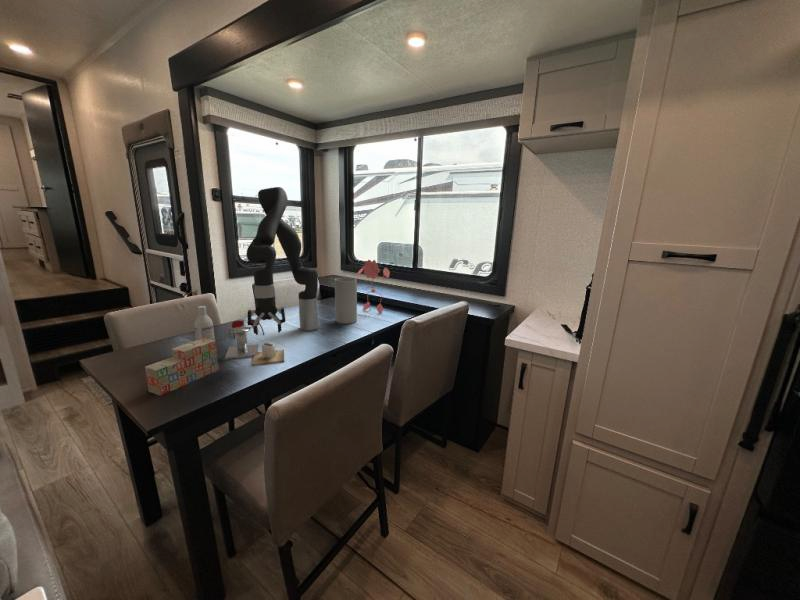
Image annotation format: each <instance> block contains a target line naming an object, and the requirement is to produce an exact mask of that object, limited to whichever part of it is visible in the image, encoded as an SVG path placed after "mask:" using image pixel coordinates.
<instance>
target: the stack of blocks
mask: <svg viewBox="0 0 800 600" xmlns="http://www.w3.org/2000/svg"><path fill="white" fill-rule="evenodd" d="M171 351H172V357H169V358H166V359H163V360H160V361H157V362H155V363H152V364H149V365H146V366H144V370H145V376H146V377H145V378H146V384H147V388H148V392H149V393H151V394H155V395H157V396H163V395H165V394H167V393H170V392H172V391H174V390H178V389H179V388H182V387H184V386H186V385H188V384H190V383H193V382H194V381H197V380H199V379H202V378H204V377H206V376H208V375H210V374H213V373H216V372H217V371H219V370H220V367H219V358H218V348H217V341H216V340H215V341H214V340H210V339H206V338H204V339H201V340H198V341H197V340H196V339H195V340H194V341H190V342H188V343H185V344H182V345H180V346H179V345H178V346H177V347H173V348H171ZM201 377H202V378H201Z"/></svg>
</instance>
